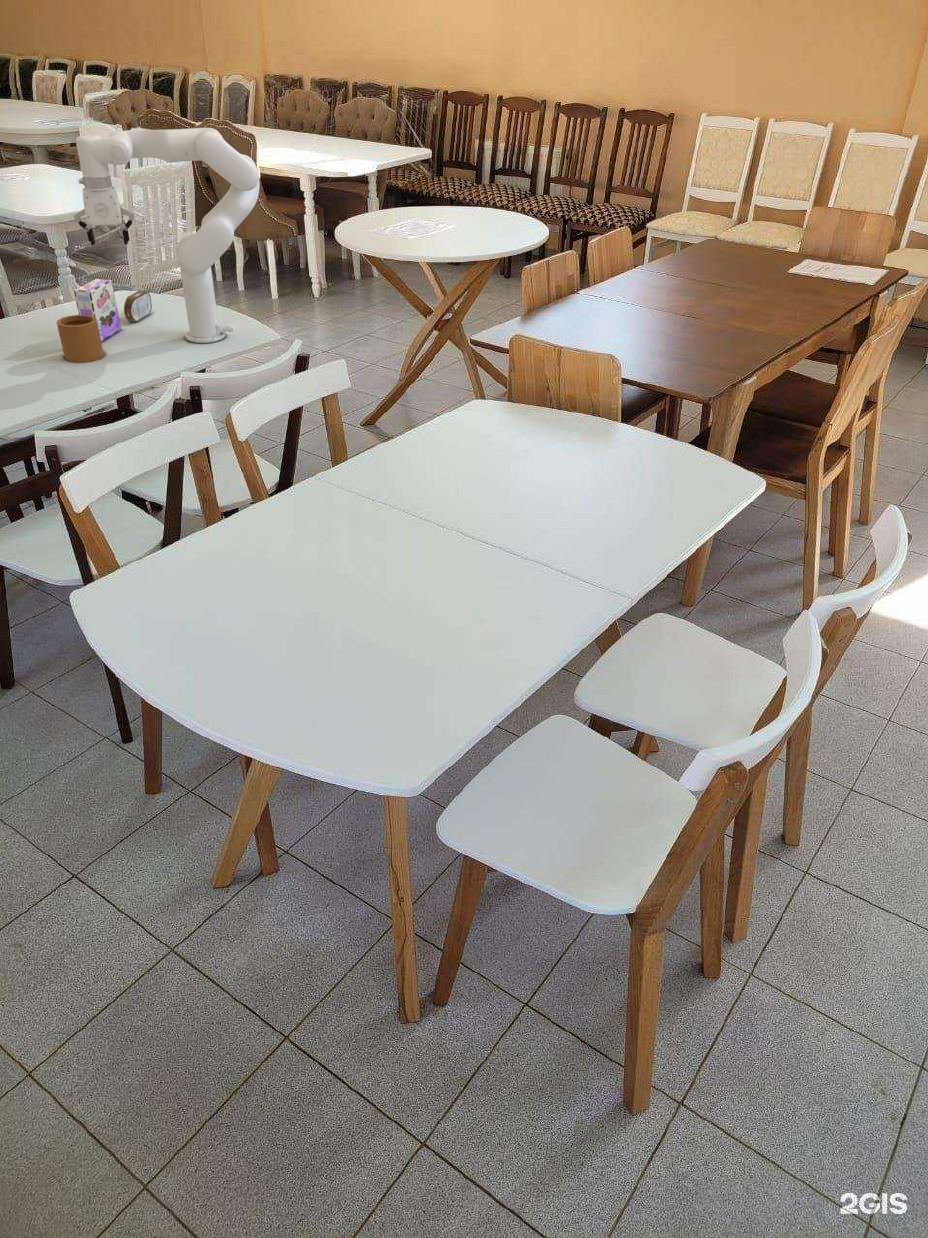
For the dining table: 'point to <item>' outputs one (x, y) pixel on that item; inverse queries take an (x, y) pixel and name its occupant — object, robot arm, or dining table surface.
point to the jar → (80, 338)
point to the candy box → (99, 305)
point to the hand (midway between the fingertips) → (110, 243)
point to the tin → (137, 306)
